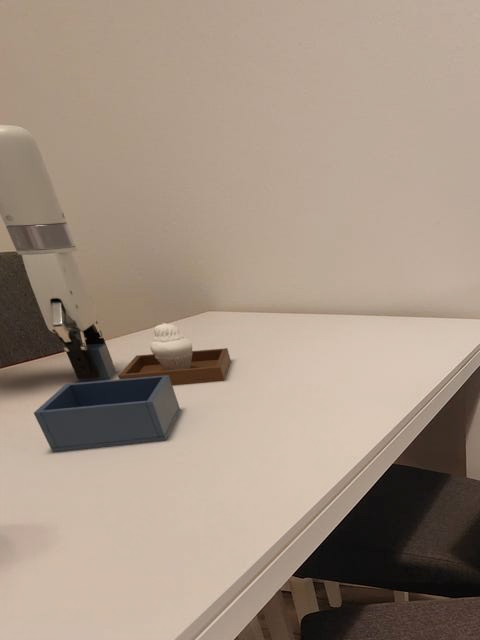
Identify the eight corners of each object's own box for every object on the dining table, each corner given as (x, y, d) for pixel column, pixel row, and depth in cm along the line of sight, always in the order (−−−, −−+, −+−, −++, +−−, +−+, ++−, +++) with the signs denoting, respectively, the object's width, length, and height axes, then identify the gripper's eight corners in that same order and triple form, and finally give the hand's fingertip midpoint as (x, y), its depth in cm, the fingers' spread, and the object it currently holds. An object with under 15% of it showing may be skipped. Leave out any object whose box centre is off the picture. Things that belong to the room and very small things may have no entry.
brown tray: (123, 390, 88) (118, 375, 87) (140, 368, 99) (136, 355, 98) (224, 381, 91) (220, 366, 90) (230, 361, 102) (227, 348, 100)
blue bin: (52, 453, 68) (33, 412, 65) (81, 420, 77) (65, 383, 75) (166, 441, 70) (152, 401, 67) (180, 410, 80) (168, 374, 77)
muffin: (182, 364, 98) (167, 317, 94) (207, 368, 96) (193, 320, 91) (150, 373, 94) (133, 324, 89) (176, 377, 91) (159, 327, 87)
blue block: (79, 382, 93) (66, 351, 90) (87, 375, 96) (74, 345, 93) (110, 379, 94) (98, 349, 91) (116, 373, 97) (105, 343, 94)
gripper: (34, 237, 89) (85, 361, 100) (-10, 246, 76) (54, 388, 87) (87, 235, 91) (132, 357, 102) (53, 243, 78) (109, 383, 88)
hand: (96, 370), depth 94 cm, fingers open, 8 cm apart
